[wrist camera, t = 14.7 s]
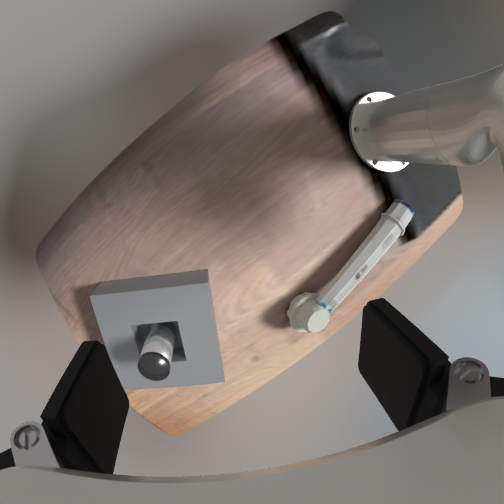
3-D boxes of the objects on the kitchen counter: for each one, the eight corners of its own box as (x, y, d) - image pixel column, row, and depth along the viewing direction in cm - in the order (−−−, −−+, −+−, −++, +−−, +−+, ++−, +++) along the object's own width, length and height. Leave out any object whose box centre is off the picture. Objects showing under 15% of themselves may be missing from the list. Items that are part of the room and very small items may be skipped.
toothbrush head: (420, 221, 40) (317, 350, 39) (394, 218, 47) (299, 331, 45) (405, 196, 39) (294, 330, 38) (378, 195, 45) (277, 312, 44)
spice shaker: (173, 318, 40) (166, 355, 32) (178, 341, 41) (172, 380, 33) (146, 319, 40) (134, 355, 31) (152, 342, 41) (141, 381, 32)
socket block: (207, 269, 41) (208, 282, 36) (222, 362, 45) (224, 381, 41) (100, 282, 39) (89, 295, 34) (128, 370, 43) (122, 389, 39)
